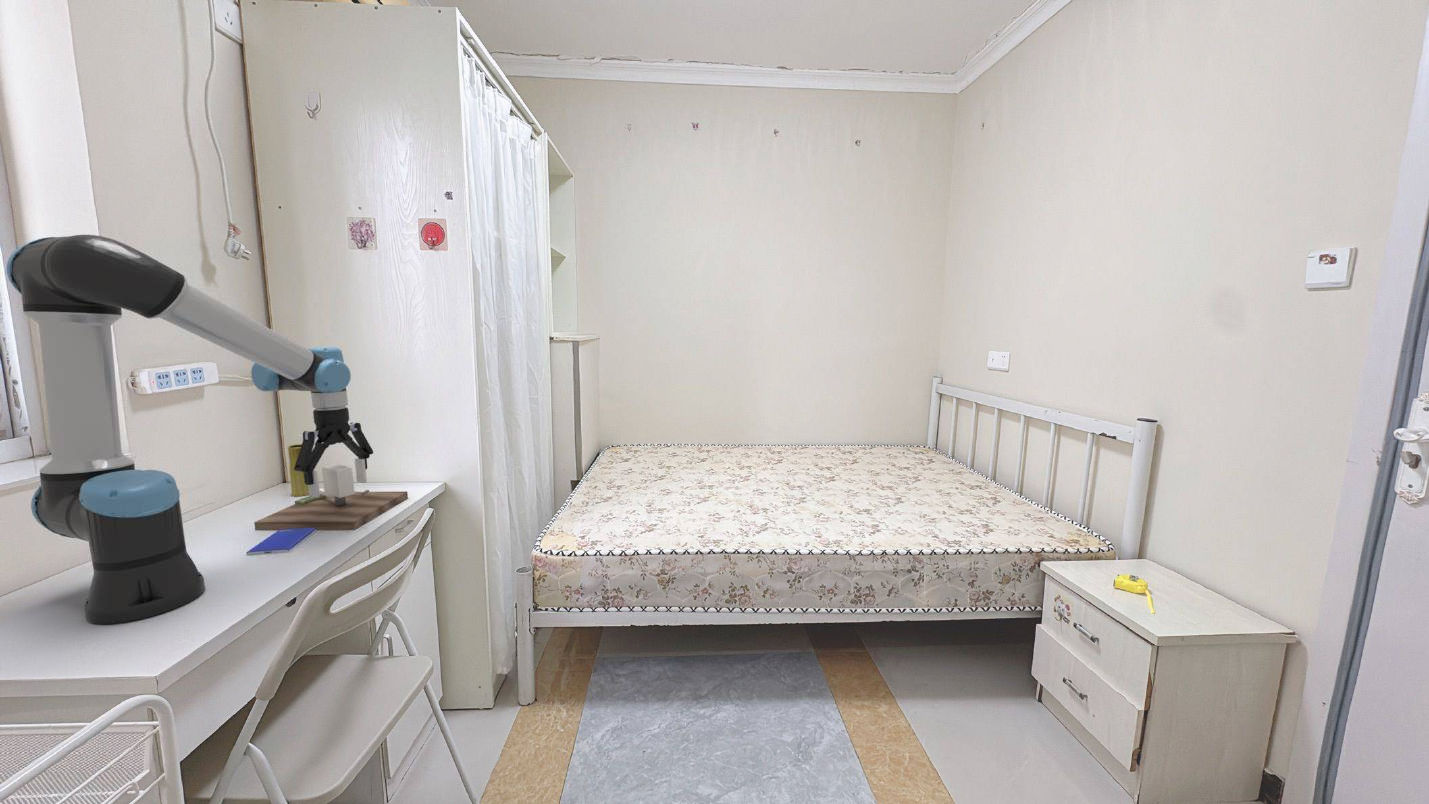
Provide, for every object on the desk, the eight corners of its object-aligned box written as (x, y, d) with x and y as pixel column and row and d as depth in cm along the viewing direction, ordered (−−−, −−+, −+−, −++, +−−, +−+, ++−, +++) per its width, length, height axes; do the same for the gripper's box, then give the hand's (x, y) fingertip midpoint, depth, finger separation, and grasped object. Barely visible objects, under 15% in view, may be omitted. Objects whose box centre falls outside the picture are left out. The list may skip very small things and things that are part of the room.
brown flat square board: (354, 529, 136) (353, 517, 135) (255, 530, 136) (253, 518, 135) (407, 498, 159) (407, 488, 159) (323, 498, 159) (322, 488, 159)
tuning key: (355, 505, 147) (352, 468, 145) (340, 509, 144) (336, 471, 142) (327, 495, 155) (323, 460, 153) (312, 499, 152) (308, 463, 150)
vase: (309, 489, 168) (304, 442, 166) (321, 491, 166) (316, 444, 164) (286, 494, 163) (281, 446, 161) (298, 497, 160) (293, 448, 158)
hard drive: (276, 530, 133) (245, 551, 121) (315, 527, 135) (288, 548, 123) (277, 536, 133) (246, 558, 121) (316, 533, 135) (289, 555, 123)
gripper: (363, 400, 156) (370, 475, 159) (269, 414, 133) (280, 501, 136) (383, 401, 154) (390, 477, 157) (291, 416, 131) (301, 505, 134)
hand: (339, 489), depth 147 cm, fingers open, 12 cm apart
